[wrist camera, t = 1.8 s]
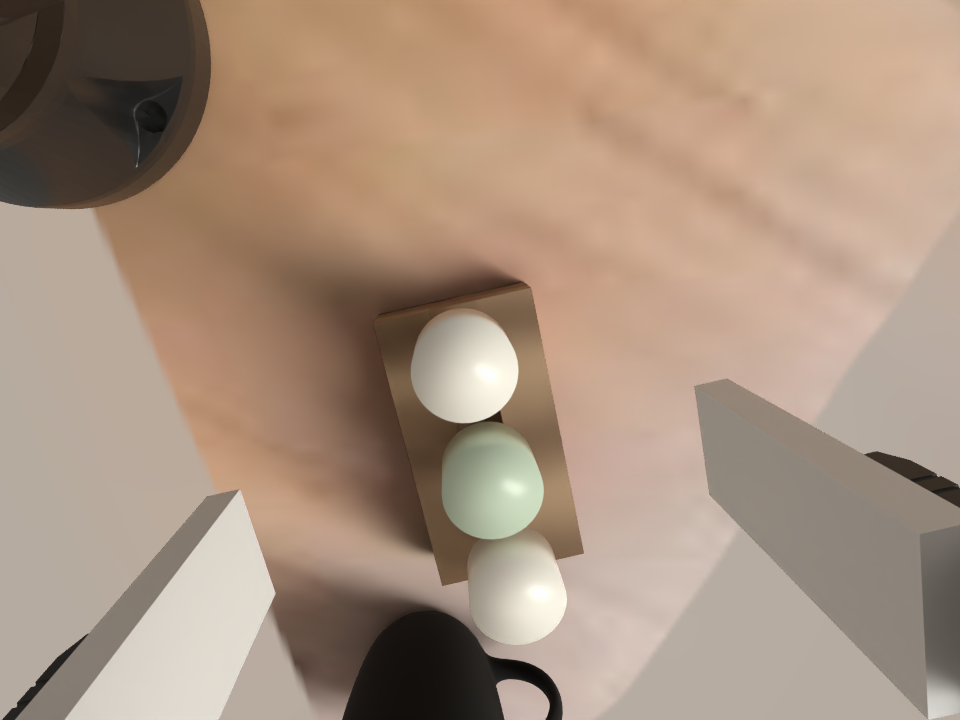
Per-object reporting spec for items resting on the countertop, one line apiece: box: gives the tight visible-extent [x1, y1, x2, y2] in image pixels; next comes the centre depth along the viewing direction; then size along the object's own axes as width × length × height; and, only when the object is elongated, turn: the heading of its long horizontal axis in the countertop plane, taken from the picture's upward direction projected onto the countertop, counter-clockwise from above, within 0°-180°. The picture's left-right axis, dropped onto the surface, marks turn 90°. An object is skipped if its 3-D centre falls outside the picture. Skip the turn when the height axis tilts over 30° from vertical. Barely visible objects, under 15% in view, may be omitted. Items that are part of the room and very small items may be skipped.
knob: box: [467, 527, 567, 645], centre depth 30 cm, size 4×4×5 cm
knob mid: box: [442, 422, 544, 539], centre depth 28 cm, size 4×4×5 cm
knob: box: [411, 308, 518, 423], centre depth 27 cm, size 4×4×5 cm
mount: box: [373, 282, 584, 586], centre depth 33 cm, size 15×8×3 cm, turn 12°
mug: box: [342, 612, 563, 720], centre depth 32 cm, size 12×9×10 cm
